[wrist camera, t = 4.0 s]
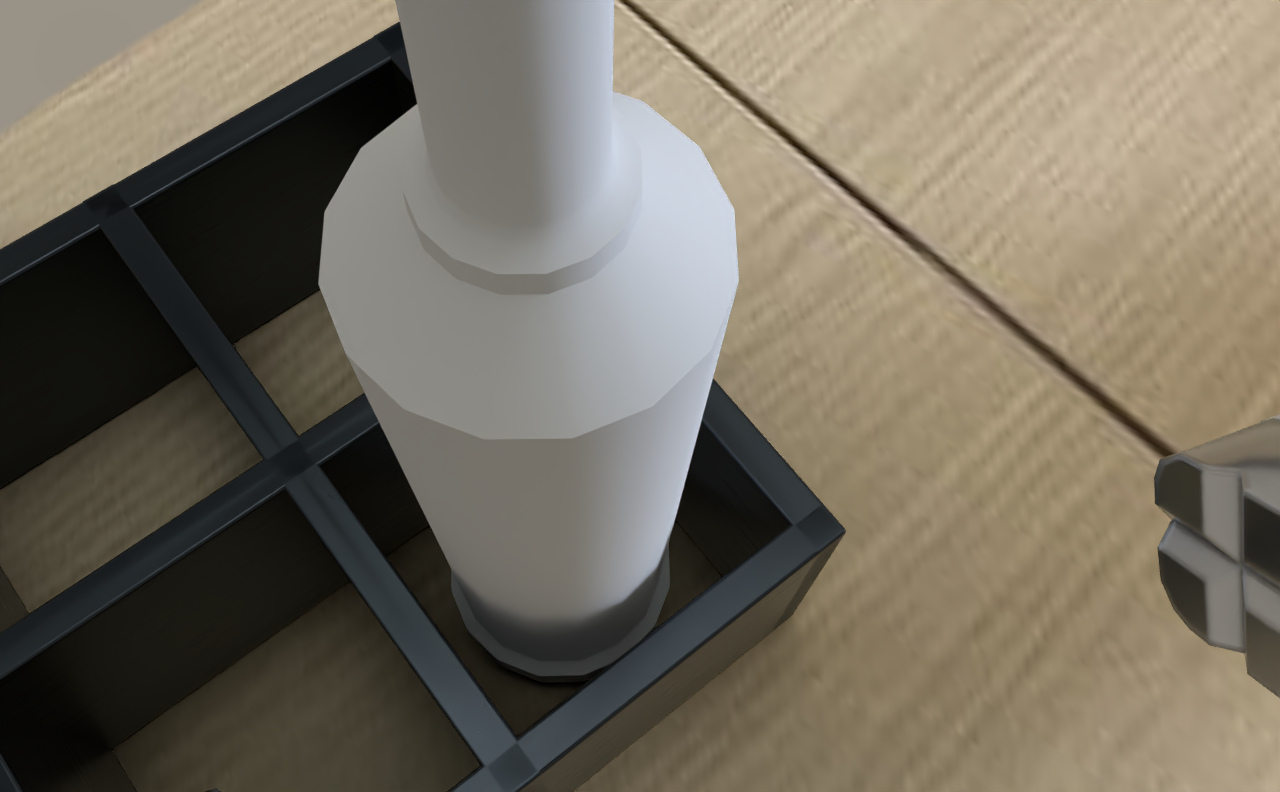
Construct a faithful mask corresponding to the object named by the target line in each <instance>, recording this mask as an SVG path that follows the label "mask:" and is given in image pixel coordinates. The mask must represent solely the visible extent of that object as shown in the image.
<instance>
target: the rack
mask: <svg viewBox="0 0 1280 792" xmlns="http://www.w3.org/2000/svg"><path fill="white" fill-rule="evenodd" d="M416 104H417V100H416V95H415V90H414V86H413V81H412V76H411V72H410V67H409V62H408V57H407V53H406V48H405V43H404V38H403V34H402V29H401V24H400V22H398V23H396V24H394V25H393V26H391V27H389V28H387V29H386V30H384V31H382V32H380V33H379V34H377V35H375V36H374V37H373V38H371V39H369V40H368V41H366V42H364V43H362V44H361V45H359V46H357V47H355V48H354V49H352V50H350V51H348V52H346V53H345V54H343V55H341V56H339V57H338V58H336V59H334V60H332V61H331V62H329V63H327V64H325V65H324V66H322V67H320V68H318V69H317V70H315V71H313V72H311V73H310V74H308V75H306V76H304V77H303V78H301V79H299V80H297V81H295V82H294V83H292V84H290V85H288V86H287V87H285V88H283V89H281V90H280V91H278V92H276V93H274V94H273V95H271V96H269V97H267V98H266V99H264V100H262V101H260V102H259V103H257V104H255V105H253V106H252V107H250V108H248V109H246V110H244V111H243V112H241V113H239V114H237V115H236V116H234V117H232V118H230V119H229V120H227V121H225V122H223V123H222V124H220V125H218V126H216V127H215V128H213V129H211V130H209V131H208V132H206V133H204V134H202V135H201V136H199V137H197V138H195V139H193V140H192V141H190V142H188V143H186V144H185V145H183V146H181V147H179V148H178V149H176V150H174V151H172V152H171V153H169V154H167V155H165V156H164V157H162V158H160V159H158V160H157V161H155V162H153V163H151V164H150V165H148V166H146V167H144V168H143V169H141V170H139V171H137V172H135V173H134V174H132V175H130V176H128V177H127V178H125V179H123V180H121V181H120V182H118V183H116V184H114V185H111V186H109V187H108V188H106V189H104V190H102V191H101V192H99V193H97V194H95V195H94V196H92V197H90V198H88V199H87V200H85V201H83V203H81V204H79V205H77V206H76V207H74V208H72V209H70V210H69V211H67V212H65V213H63V214H62V215H60V216H58V217H56V218H55V219H53V220H51V221H49V222H48V223H46V224H44V225H42V226H41V227H39V228H37V229H35V230H33V231H32V232H30V233H28V234H26V235H25V236H23V237H21V238H19V239H18V240H16V241H14V242H12V243H11V244H9V245H7V246H5V247H4V248H2V249H0V488H1V487H3V486H4V485H6V484H8V483H9V482H11V481H12V480H14V479H16V478H17V477H19V476H20V475H22V474H24V473H25V472H27V471H28V470H30V469H32V468H33V467H35V466H36V465H38V464H40V463H41V462H43V461H44V460H46V459H48V458H49V457H51V456H52V455H54V454H56V453H57V452H59V451H60V450H62V449H64V448H65V447H67V446H68V445H70V444H72V443H73V442H75V441H76V440H78V439H80V438H81V437H83V436H84V435H86V434H88V433H89V432H91V431H92V430H94V429H96V428H97V427H99V426H100V425H102V424H104V423H105V422H107V421H108V420H110V419H112V418H113V417H115V416H116V415H118V414H119V413H121V412H123V411H124V410H126V409H127V408H129V407H131V406H132V405H134V404H135V403H137V402H139V401H140V400H142V399H143V398H145V397H147V396H148V395H150V394H151V393H153V392H155V391H156V390H158V389H159V388H161V387H163V386H164V385H166V384H167V383H169V382H171V381H172V380H174V379H175V378H177V377H179V376H180V375H182V374H183V373H185V372H187V371H188V370H190V369H191V368H193V367H195V366H196V365H197V367H198V368H199V369H200V371H201V372H202V374H203V375H204V376H205V378H206V379H207V381H208V382H209V383H210V385H211V386H212V388H213V389H214V390H215V392H216V393H217V395H218V396H219V398H220V399H221V400H222V402H223V403H224V405H225V406H226V407H227V409H228V410H229V412H230V413H231V414H232V416H233V417H234V419H235V420H236V421H237V423H238V424H239V426H240V427H241V429H242V430H243V431H244V433H245V434H246V436H247V437H248V438H249V440H250V441H251V443H252V444H253V445H254V447H255V448H256V450H257V451H258V452H259V454H260V455H261V457H262V458H263V460H262V461H260V462H259V463H257V464H256V465H254V466H253V467H251V468H250V469H248V470H247V471H245V472H244V473H242V474H241V475H239V476H238V477H236V478H235V479H233V480H232V481H230V482H229V483H227V484H226V485H224V486H223V487H221V488H220V489H218V490H216V491H215V492H213V493H212V494H210V495H209V496H207V497H206V498H204V499H203V500H201V501H200V502H198V503H197V504H195V505H194V506H192V507H191V508H189V509H188V510H186V511H185V512H183V513H182V514H180V515H179V516H177V517H176V518H174V519H173V520H171V521H169V522H168V523H166V524H165V525H163V526H162V527H160V528H159V529H157V530H156V531H154V532H153V533H151V534H150V535H148V536H147V537H145V538H144V539H142V540H141V541H139V542H138V543H136V544H135V545H133V546H132V547H130V548H129V549H127V550H125V551H124V552H122V553H121V554H119V555H118V556H116V557H115V558H113V559H112V560H110V561H109V562H107V563H106V564H104V565H103V566H101V567H100V568H98V569H97V570H95V571H94V572H92V573H91V574H89V575H88V576H86V577H85V578H83V579H82V580H80V581H78V582H77V583H75V584H74V585H72V586H71V587H69V588H68V589H66V590H65V591H63V592H62V593H60V594H59V595H57V596H56V597H54V598H53V599H51V600H50V601H48V602H47V603H45V604H44V605H42V606H41V607H39V608H38V609H36V610H35V611H33V612H31V613H30V614H28V612H27V610H26V609H25V607H24V605H23V604H22V602H21V600H20V599H19V597H18V595H17V594H16V592H15V590H14V589H13V587H12V585H11V584H10V582H9V580H8V579H7V577H6V576H5V574H4V572H3V571H2V569H1V567H0V792H136V790H135V789H134V787H133V785H132V784H131V782H130V780H129V779H128V777H127V775H126V774H125V772H124V770H123V769H122V767H121V765H120V764H119V762H118V760H117V759H116V757H115V755H114V754H113V752H112V751H111V749H112V748H114V747H115V746H116V745H118V744H119V743H121V742H122V741H124V740H125V739H126V738H128V737H129V736H131V735H132V734H133V733H135V732H136V731H138V730H139V729H141V728H142V727H143V726H145V725H146V724H148V723H149V722H150V721H152V720H153V719H155V718H156V717H158V716H159V715H160V714H162V713H163V712H165V711H166V710H167V709H169V708H170V707H172V706H173V705H175V704H176V703H177V702H179V701H180V700H182V699H183V698H185V697H186V696H187V695H189V694H190V693H192V692H193V691H194V690H196V689H197V688H199V687H200V686H202V685H203V684H204V683H206V682H207V681H209V680H210V679H211V678H213V677H214V676H216V675H217V674H219V673H220V672H221V671H223V670H224V669H226V668H227V667H228V666H230V665H231V664H233V663H234V662H236V661H237V660H238V659H240V658H241V657H243V656H244V655H245V654H247V653H248V652H250V651H251V650H253V649H254V648H255V647H257V646H258V645H260V644H261V643H262V642H264V641H265V640H267V639H268V638H270V637H271V636H272V635H274V634H275V633H277V632H278V631H279V630H281V629H282V628H284V627H285V626H287V625H288V624H289V623H291V622H292V621H294V620H295V619H296V618H298V617H299V616H301V615H302V614H304V613H305V612H306V611H308V610H309V609H311V608H312V607H314V606H315V605H316V604H318V603H319V602H321V601H322V600H323V599H325V598H326V597H328V596H329V595H331V594H332V593H333V592H335V591H336V590H338V589H339V588H340V587H342V586H343V585H345V584H346V583H348V582H349V581H350V582H351V583H352V585H353V586H354V588H355V589H356V590H357V592H358V593H359V595H360V596H361V598H362V599H363V600H364V602H365V603H366V605H367V606H368V607H369V609H370V610H371V612H372V613H373V614H374V616H375V617H376V619H377V620H378V621H379V623H380V624H381V626H382V627H383V629H384V630H385V631H386V633H387V634H388V636H389V637H390V638H391V640H392V641H393V643H394V644H395V645H396V647H397V648H398V650H399V651H400V652H401V654H402V655H403V657H404V658H405V659H406V661H407V662H408V664H409V665H410V667H411V668H412V669H413V671H414V672H415V674H416V675H417V676H418V678H419V679H420V681H421V682H422V683H423V685H424V686H425V688H426V689H427V690H428V692H429V693H430V695H431V696H432V698H433V699H434V700H435V702H436V703H437V705H438V706H439V707H440V709H441V710H442V712H443V713H444V714H445V716H446V717H447V719H448V720H449V721H450V723H451V724H452V726H453V727H454V729H455V730H456V731H457V733H458V734H459V736H460V737H461V738H462V740H463V741H464V743H465V744H466V745H467V747H468V748H469V750H470V751H471V752H472V754H473V755H474V757H475V758H476V759H477V761H478V762H479V764H480V766H479V767H478V768H476V769H475V770H474V771H473V772H471V773H470V774H469V775H467V776H466V777H465V778H464V779H462V780H461V781H460V782H458V783H457V784H456V785H455V786H453V787H452V788H451V789H449V790H448V791H447V792H573V791H575V790H576V789H577V788H578V787H580V786H581V785H582V784H583V783H585V782H586V781H587V780H588V779H589V778H591V777H592V776H593V775H594V774H596V773H597V772H598V771H599V770H601V769H602V768H603V767H604V766H606V765H607V764H608V763H609V762H611V761H612V760H613V759H614V758H616V757H617V756H618V755H619V754H620V753H622V752H623V751H624V750H625V749H627V748H628V747H629V746H630V745H632V744H633V743H634V742H635V741H637V740H638V739H639V738H640V737H642V736H643V735H644V734H645V733H647V732H648V731H649V730H650V729H651V728H653V727H654V726H655V725H656V724H658V723H659V722H660V721H661V720H663V719H664V718H665V717H666V716H668V715H669V714H670V713H671V712H673V711H674V710H675V709H676V708H678V707H679V706H680V705H681V704H683V703H684V702H685V701H686V700H687V699H689V698H690V697H691V696H692V695H694V694H695V693H696V692H697V691H699V690H700V689H701V688H702V687H704V686H705V685H706V684H707V683H709V682H710V681H711V680H712V679H714V678H715V677H716V676H717V675H718V674H720V673H721V672H722V671H723V670H725V669H726V668H727V667H728V666H730V665H731V664H732V663H733V662H735V661H736V660H737V659H738V658H740V657H741V656H742V655H743V654H745V653H746V652H747V651H748V650H749V649H751V648H752V647H753V646H754V645H756V644H757V643H758V642H759V641H761V640H762V639H763V638H764V637H766V636H767V635H768V634H769V633H771V632H772V631H773V630H774V629H776V628H777V627H778V626H779V625H781V624H782V623H783V622H784V621H786V620H787V619H788V618H789V617H791V616H792V615H793V613H794V612H795V610H796V609H797V607H798V605H799V604H800V602H801V601H802V599H803V598H804V596H805V595H806V593H807V592H808V590H809V588H810V587H811V585H812V584H813V582H814V581H815V579H816V578H817V576H818V574H819V573H820V571H821V570H822V568H823V567H824V565H825V564H826V562H827V561H828V559H829V557H830V556H831V554H832V553H833V551H834V550H835V548H836V547H837V545H838V543H839V542H840V540H841V539H842V537H843V536H844V534H845V532H846V530H845V528H844V527H843V526H842V525H841V524H840V523H839V522H838V520H837V519H836V518H835V517H834V516H833V515H832V514H831V512H830V511H829V510H828V509H827V508H826V507H825V506H824V504H823V503H822V502H821V501H820V500H819V499H818V498H817V497H816V495H815V494H814V493H813V492H812V491H811V490H810V489H809V487H808V486H807V485H806V484H805V483H804V482H803V481H802V479H801V478H800V477H799V476H798V475H797V474H796V473H795V471H794V470H793V469H792V468H791V467H790V466H789V465H788V463H787V462H786V461H785V460H784V459H783V458H782V457H781V455H780V454H779V453H778V452H777V451H776V450H775V449H774V447H773V446H772V445H771V444H770V443H769V442H768V441H767V439H766V438H765V437H764V436H763V435H762V434H761V433H760V431H759V430H758V429H757V428H756V427H755V426H754V425H753V423H752V422H751V421H750V420H749V419H748V418H747V417H746V415H745V414H744V413H743V412H742V411H741V410H740V409H739V407H738V406H737V405H736V404H735V403H734V402H733V401H732V399H731V398H730V397H729V396H728V395H727V394H726V393H725V391H724V390H723V389H722V388H721V387H720V386H719V385H718V383H717V382H716V381H715V380H714V379H712V383H711V387H710V391H709V394H708V398H707V402H706V406H705V409H704V413H703V417H702V420H701V424H700V428H699V432H698V435H697V439H696V443H695V447H694V450H693V454H692V458H691V462H690V465H689V469H688V473H687V476H686V480H685V484H684V488H683V491H682V495H681V499H680V503H679V506H678V510H677V514H676V518H675V519H676V521H677V522H678V523H679V524H680V525H681V527H682V528H683V529H684V530H685V531H686V533H687V534H688V535H689V536H690V538H691V539H692V540H693V541H694V542H695V544H696V545H697V546H698V547H699V548H700V550H701V551H702V552H703V553H704V555H705V556H706V557H707V558H708V559H709V561H710V562H711V563H712V564H713V565H714V567H715V568H716V569H717V570H718V571H719V573H720V574H721V575H722V576H723V577H721V578H720V579H719V580H718V581H716V582H715V583H714V584H713V585H711V586H710V587H709V588H707V589H706V590H705V591H704V592H702V593H701V594H700V595H698V596H697V597H696V598H695V599H693V600H692V601H691V602H689V603H688V604H687V605H686V606H684V607H683V608H682V609H680V610H679V611H678V612H677V613H675V614H674V615H673V616H671V617H670V618H669V619H668V620H666V621H665V622H664V623H662V624H661V625H660V626H659V627H657V628H656V629H655V630H653V631H652V632H651V633H650V634H648V635H647V636H646V637H644V638H643V639H642V640H641V641H639V642H638V643H637V644H636V645H634V646H633V647H632V648H630V649H629V650H628V651H627V652H625V653H624V654H623V655H621V656H620V657H619V658H618V659H616V660H615V661H614V662H612V663H611V664H610V665H609V666H607V667H606V668H605V669H603V670H602V671H601V672H600V673H598V674H597V675H596V676H594V677H593V678H592V679H591V680H589V681H588V682H587V683H585V684H584V685H583V686H582V687H580V688H579V689H578V690H576V691H575V692H574V693H573V694H571V695H570V696H569V697H567V698H566V699H565V700H564V701H562V702H561V703H560V704H559V705H557V706H556V707H555V708H553V709H552V710H551V711H550V712H548V713H547V714H546V715H544V716H543V717H542V718H541V719H539V720H538V721H537V722H535V723H534V724H533V725H532V726H530V727H529V728H528V729H526V730H525V731H524V732H523V733H521V734H520V735H519V736H516V735H515V733H514V732H513V730H512V729H511V728H510V726H509V725H508V724H507V722H506V721H505V719H504V718H503V717H502V715H501V714H500V713H499V711H498V710H497V708H496V707H495V706H494V704H493V703H492V702H491V700H490V699H489V697H488V696H487V695H486V693H485V692H484V691H483V689H482V688H481V686H480V685H479V684H478V682H477V681H476V680H475V678H474V677H473V675H472V674H471V673H470V671H469V670H468V669H467V667H466V666H465V664H464V663H463V662H462V660H461V659H460V657H459V656H458V655H457V653H456V652H455V651H454V649H453V648H452V646H451V645H450V644H449V642H448V641H447V640H446V638H445V637H444V635H443V634H442V633H441V631H440V630H439V629H438V627H437V626H436V624H435V623H434V622H433V620H432V619H431V618H430V616H429V615H428V613H427V612H426V611H425V609H424V608H423V607H422V605H421V604H420V602H419V601H418V600H417V598H416V597H415V596H414V594H413V593H412V591H411V590H410V589H409V587H408V586H407V585H406V583H405V582H404V580H403V579H402V578H401V576H400V575H399V574H398V572H397V571H396V569H395V568H394V567H393V565H392V564H391V563H390V561H389V560H388V558H387V557H386V555H387V554H389V553H390V552H391V551H393V550H394V549H396V548H397V547H399V546H400V545H401V544H403V543H404V542H406V541H407V540H408V539H410V538H411V537H413V536H414V535H416V534H417V533H418V532H420V531H421V530H423V529H424V528H425V527H427V526H428V525H430V524H429V522H428V520H427V518H426V516H425V514H424V512H423V510H422V508H421V506H420V504H419V502H418V500H417V498H416V496H415V494H414V492H413V490H412V488H411V486H410V484H409V482H408V480H407V478H406V476H405V474H404V472H403V470H402V468H401V466H400V464H399V461H398V459H397V457H396V455H395V453H394V451H393V449H392V447H391V445H390V443H389V441H388V439H387V437H386V435H385V433H384V431H383V429H382V427H381V425H380V423H379V421H378V419H377V417H376V415H375V413H374V411H373V409H372V407H371V405H370V403H369V401H368V398H367V396H366V394H365V393H364V394H362V395H361V396H359V397H357V398H356V399H354V400H353V401H351V402H350V403H348V404H347V405H345V406H344V407H342V408H341V409H339V410H338V411H336V412H335V413H333V414H332V415H330V416H329V417H327V418H326V419H324V420H323V421H321V422H320V423H318V424H317V425H315V426H314V427H312V428H310V429H309V430H307V431H306V432H304V433H303V434H301V435H300V436H298V435H297V433H296V432H295V430H294V429H293V428H292V426H291V425H290V424H289V422H288V421H287V419H286V418H285V417H284V415H283V414H282V413H281V411H280V410H279V408H278V407H277V406H276V404H275V403H274V401H273V400H272V399H271V397H270V396H269V395H268V393H267V392H266V390H265V389H264V388H263V386H262V385H261V384H260V382H259V381H258V379H257V378H256V377H255V375H254V374H253V373H252V371H251V370H250V368H249V367H248V366H247V364H246V363H245V362H244V360H243V359H242V357H241V356H240V355H239V353H238V352H237V351H236V349H235V348H234V346H233V345H232V344H231V343H233V342H235V341H236V340H238V339H239V338H241V337H243V336H244V335H246V334H247V333H249V332H251V331H252V330H254V329H255V328H257V327H259V326H260V325H262V324H263V323H265V322H267V321H268V320H270V319H271V318H273V317H275V316H276V315H278V314H279V313H281V312H283V311H284V310H286V309H287V308H289V307H291V306H292V305H294V304H295V303H297V302H299V301H300V300H302V299H303V298H305V297H307V296H308V295H310V294H311V293H313V292H315V291H316V290H318V289H319V288H320V287H319V284H318V282H319V271H320V259H321V248H322V236H323V225H324V213H325V210H326V208H327V207H328V205H329V203H330V201H331V200H332V198H333V196H334V194H335V193H336V191H337V189H338V187H339V186H340V184H341V182H342V180H343V179H344V177H345V175H346V173H347V172H348V170H349V168H350V166H351V165H352V163H353V161H354V159H355V158H356V156H357V154H358V152H359V151H360V149H361V148H362V147H363V146H364V145H365V144H367V143H368V142H369V141H371V140H372V139H373V138H374V137H376V136H377V135H378V134H379V133H381V132H382V131H383V130H385V129H386V128H387V127H388V126H390V125H391V124H392V123H393V122H395V121H396V120H397V119H399V118H400V117H401V116H402V115H404V114H405V113H406V112H407V111H409V110H410V109H411V108H413V107H414V106H415V105H416Z"/></svg>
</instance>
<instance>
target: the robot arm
mask: <svg viewBox="0 0 1280 792" xmlns="http://www.w3.org/2000/svg"><path fill="white" fill-rule="evenodd" d="M1154 487H1155V504H1156V505H1157V506H1158V507H1159V508H1160V509H1161V510H1162V511H1163V512H1164V513H1165V514H1166V515H1167V516H1168V517H1169V518H1170V519H1172V520H1171V522H1170V524H1169V526H1168V528H1167V530H1166V532H1165V534H1164V536H1163V538H1162V540H1161V542H1160V544H1159V546H1158V557H1159V567H1160V577H1161V582H1162V584H1163V586H1164V589H1165V591H1166V593H1167V595H1168V598H1169V600H1170V602H1171V604H1172V607H1173V609H1174V610H1175V612H1176V613H1177V614H1178V615H1179V617H1180V618H1181V619H1182V620H1183V622H1184V623H1185V624H1186V625H1187V627H1188V628H1189V629H1190V630H1191V631H1193V632H1194V633H1195V634H1196V635H1198V636H1199V637H1200V638H1201V639H1203V640H1204V641H1205V642H1206V643H1208V644H1209V645H1211V646H1215V647H1220V648H1224V649H1228V650H1232V651H1236V652H1241V653H1245V660H1246V667H1247V674H1248V675H1250V676H1251V677H1252V678H1254V679H1255V680H1256V681H1258V682H1259V683H1260V684H1262V685H1263V686H1264V687H1266V688H1267V689H1268V690H1270V691H1271V692H1272V693H1274V694H1275V695H1276V696H1278V697H1279V698H1280V414H1278V415H1275V416H1273V417H1270V418H1268V419H1265V420H1262V421H1261V422H1260V423H1258V424H1255V425H1252V426H1250V427H1247V428H1244V429H1241V430H1239V431H1236V432H1233V433H1231V434H1228V435H1225V436H1222V437H1220V438H1217V439H1214V440H1212V441H1209V442H1206V443H1204V444H1201V445H1198V446H1195V447H1193V448H1190V449H1187V450H1185V451H1182V452H1179V453H1176V454H1174V455H1171V456H1168V457H1166V458H1163V459H1160V461H1159V464H1158V467H1157V471H1156V474H1155V477H1154ZM205 792H221V791H220V790H218V789H217V788H215V789H212V790H209V791H205Z"/></svg>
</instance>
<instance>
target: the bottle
mask: <svg viewBox="0 0 1280 792" xmlns="http://www.w3.org/2000/svg"><path fill="white" fill-rule="evenodd" d="M396 5H397V10H398V15H399V19H400V24H401V29H402V34H403V38H404V43H405V48H406V53H407V57H408V62H409V67H410V72H411V76H412V81H413V86H414V90H415V95H416V100H417V104H416V105H415V106H414V107H413V108H411V109H410V110H409V111H407V112H406V113H405V114H404V115H402V116H401V117H400V118H399V119H397V120H396V121H395V122H393V123H392V124H391V125H390V126H388V127H387V128H386V129H385V130H383V131H382V132H381V133H379V134H378V135H377V136H376V137H374V138H373V139H372V140H371V141H369V142H368V143H367V144H365V145H364V146H363V147H362V148H361V149H360V151H359V152H358V154H357V156H356V158H355V159H354V161H353V163H352V165H351V166H350V168H349V170H348V172H347V173H346V175H345V177H344V179H343V180H342V182H341V184H340V186H339V187H338V189H337V191H336V193H335V194H334V196H333V198H332V200H331V201H330V203H329V205H328V207H327V208H326V210H325V213H324V225H323V236H322V248H321V259H320V271H319V282H318V284H319V287H320V289H321V292H322V295H323V297H324V300H325V302H326V305H327V307H328V310H329V313H330V315H331V318H332V320H333V323H334V325H335V328H336V331H337V333H338V336H339V338H340V341H341V343H342V346H343V349H344V351H345V354H346V356H347V358H348V360H349V362H350V364H351V366H352V368H353V370H354V372H355V374H356V376H357V378H358V380H359V382H360V384H361V386H362V388H363V390H364V392H365V394H366V396H367V398H368V401H369V403H370V405H371V407H372V409H373V411H374V413H375V415H376V417H377V419H378V421H379V423H380V425H381V427H382V429H383V431H384V433H385V435H386V437H387V439H388V441H389V443H390V445H391V447H392V449H393V451H394V453H395V455H396V457H397V459H398V461H399V464H400V466H401V468H402V470H403V472H404V474H405V476H406V478H407V480H408V482H409V484H410V486H411V488H412V490H413V492H414V494H415V496H416V498H417V500H418V502H419V504H420V506H421V508H422V510H423V512H424V514H425V516H426V518H427V520H428V522H429V524H430V527H431V529H432V531H433V533H434V535H435V537H436V539H437V541H438V543H439V545H440V547H441V549H442V551H443V553H444V555H445V557H446V559H447V561H448V563H449V565H450V567H451V569H452V574H451V590H452V593H453V596H454V598H455V601H456V603H457V606H458V608H459V611H460V613H461V616H462V618H463V621H464V624H465V626H466V629H467V631H468V633H469V634H470V636H471V637H472V638H473V639H474V640H475V641H476V642H477V643H478V644H479V645H480V646H481V647H482V648H483V649H484V650H485V651H486V652H487V653H488V654H489V655H490V656H491V657H492V658H493V659H494V660H495V661H496V662H497V663H498V664H499V665H500V666H502V667H504V668H506V669H509V670H512V671H514V672H517V673H519V674H522V675H524V676H527V677H529V678H532V679H534V680H537V681H539V682H583V681H586V680H588V679H590V678H592V677H594V676H596V675H597V674H598V673H600V672H601V671H602V670H603V669H605V668H606V667H607V666H609V665H610V664H611V663H612V662H614V661H615V660H616V659H618V658H619V657H620V656H621V655H623V654H624V653H625V652H627V651H628V650H629V649H630V648H632V647H633V646H634V645H636V644H637V643H638V642H639V641H641V640H642V639H643V638H644V637H646V636H647V635H648V634H650V633H651V632H652V631H653V630H654V627H655V625H656V622H657V620H658V617H659V614H660V612H661V609H662V607H663V604H664V601H665V599H666V596H667V593H668V591H669V588H670V567H669V540H670V536H671V533H672V529H673V525H674V521H675V518H676V514H677V510H678V506H679V503H680V499H681V495H682V491H683V488H684V484H685V480H686V476H687V473H688V469H689V465H690V462H691V458H692V454H693V450H694V447H695V443H696V439H697V435H698V432H699V428H700V424H701V420H702V417H703V413H704V409H705V406H706V402H707V398H708V394H709V391H710V387H711V383H712V379H713V376H714V372H715V368H716V364H717V361H718V357H719V353H720V349H721V346H722V342H723V338H724V335H725V331H726V327H727V323H728V320H729V316H730V312H731V308H732V305H733V301H734V297H735V293H736V290H737V286H738V282H739V275H738V260H737V245H736V230H735V214H734V208H733V207H732V205H731V203H730V201H729V199H728V197H727V196H726V194H725V192H724V190H723V188H722V186H721V185H720V183H719V181H718V179H717V177H716V176H715V174H714V172H713V170H712V168H711V166H710V165H709V163H708V161H707V159H706V157H705V155H704V154H703V152H702V150H701V148H700V147H699V146H698V145H697V144H695V143H694V142H693V141H692V140H690V139H689V138H688V137H687V136H685V135H684V134H683V133H682V132H680V131H679V130H678V129H677V128H675V127H674V126H673V125H672V124H670V123H669V122H668V121H667V120H666V119H664V118H663V117H662V116H661V115H659V114H658V113H657V112H656V111H654V110H653V109H652V108H651V107H649V106H648V105H647V104H646V103H644V102H643V101H641V100H638V99H635V98H632V97H629V96H626V95H623V94H620V93H617V92H614V91H613V27H614V0H396Z"/></svg>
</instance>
